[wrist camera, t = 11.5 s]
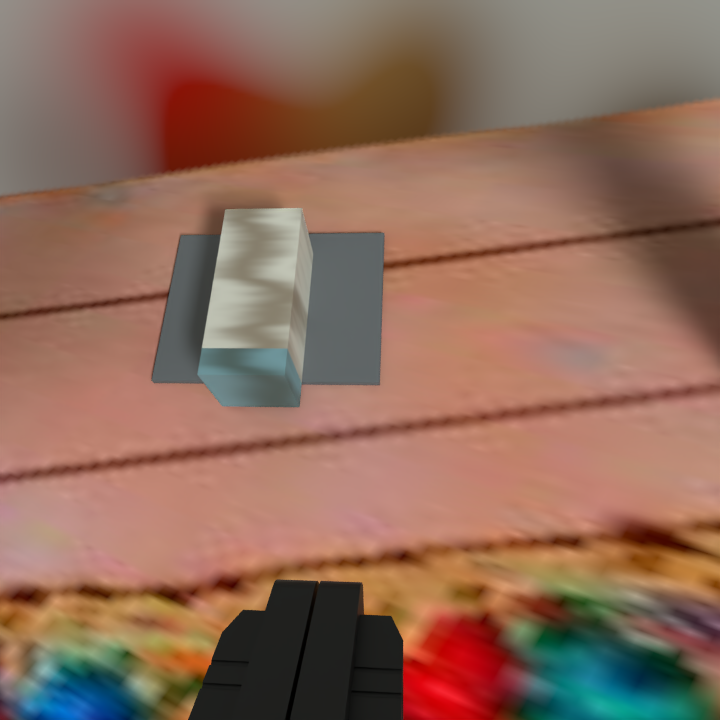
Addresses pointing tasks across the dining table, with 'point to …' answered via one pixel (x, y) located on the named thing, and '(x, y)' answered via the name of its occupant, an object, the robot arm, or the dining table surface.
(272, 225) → the block
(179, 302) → the mat
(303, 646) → the robot arm
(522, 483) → the dining table surface
